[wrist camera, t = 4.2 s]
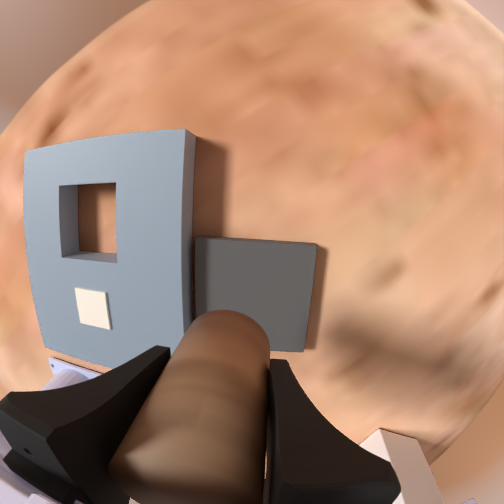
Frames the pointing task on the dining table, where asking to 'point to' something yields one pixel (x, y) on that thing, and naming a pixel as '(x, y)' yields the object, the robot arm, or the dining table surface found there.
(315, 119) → the dining table surface
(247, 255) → the pad
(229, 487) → the walnut peg
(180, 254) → the hole plate
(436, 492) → the milk carton
